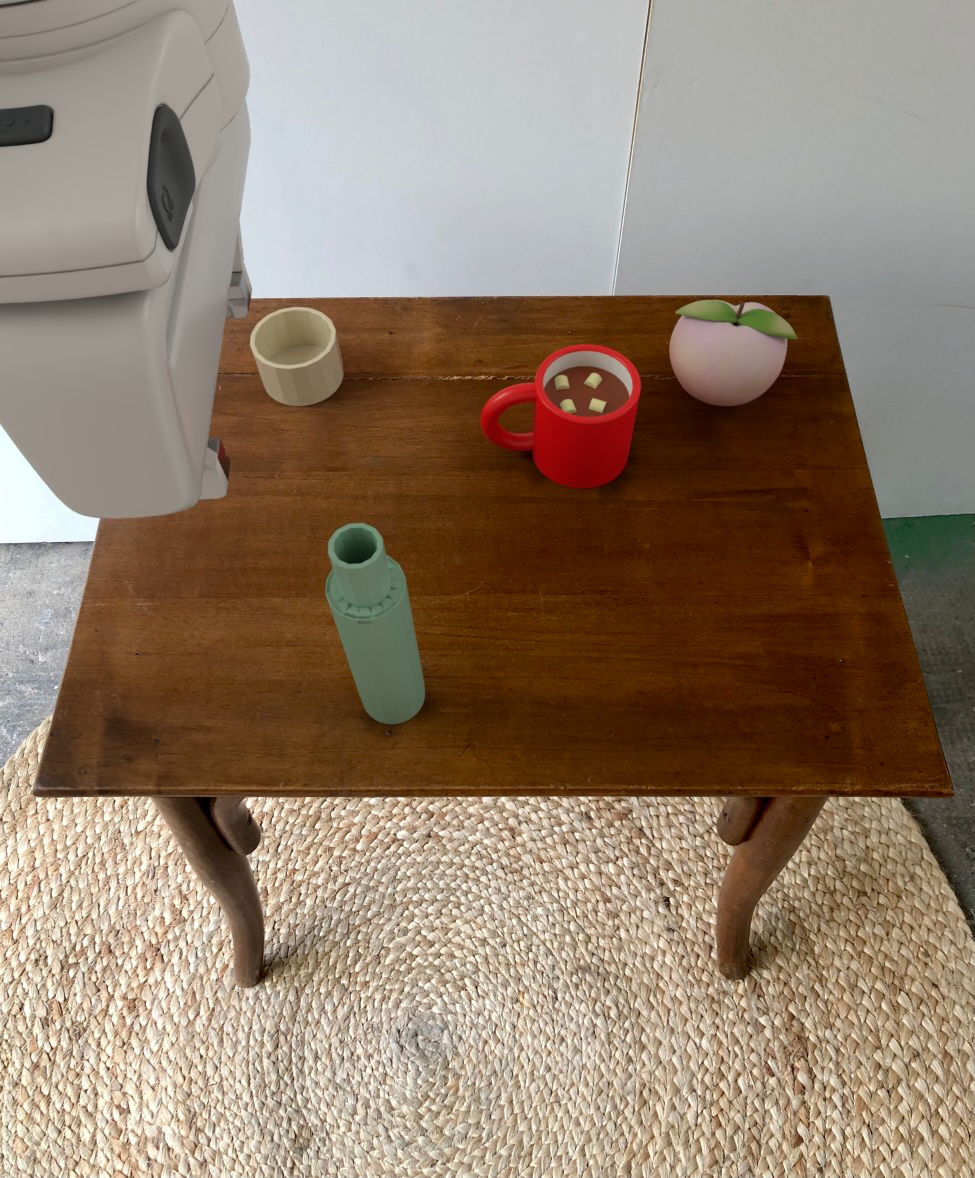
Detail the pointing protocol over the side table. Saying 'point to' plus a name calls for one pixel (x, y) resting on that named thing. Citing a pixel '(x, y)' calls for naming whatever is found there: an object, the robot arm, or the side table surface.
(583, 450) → the mug
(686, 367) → the decorative fruit
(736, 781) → the side table surface
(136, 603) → the side table surface
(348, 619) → the bottle
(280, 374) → the holder
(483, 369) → the side table surface
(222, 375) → the side table surface
